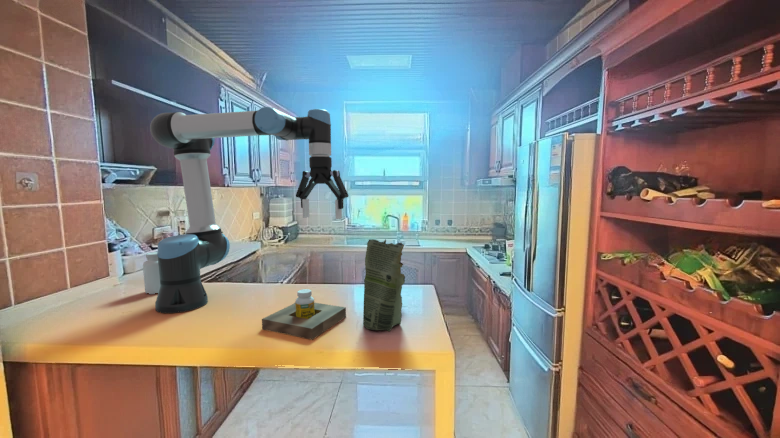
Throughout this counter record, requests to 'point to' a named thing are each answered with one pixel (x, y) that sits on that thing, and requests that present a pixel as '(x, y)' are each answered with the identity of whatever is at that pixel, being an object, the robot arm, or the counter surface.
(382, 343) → the counter surface
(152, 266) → the pill bottle
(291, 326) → the frame
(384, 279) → the pouch
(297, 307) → the supplement bottle
